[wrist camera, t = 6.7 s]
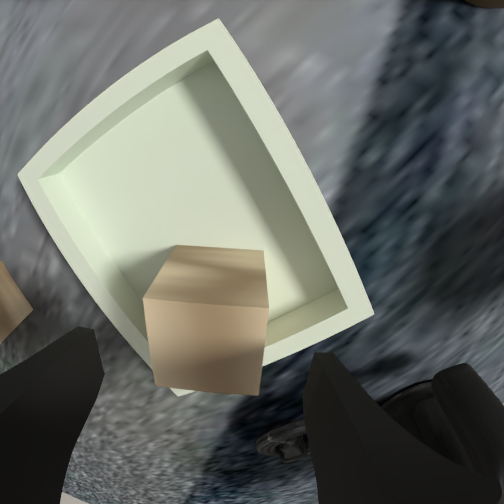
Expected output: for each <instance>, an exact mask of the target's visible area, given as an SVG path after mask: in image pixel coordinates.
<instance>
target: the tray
mask: <svg viewBox="0 0 504 504" xmlns="http://www.w3.org/2000/svg"><path fill="white" fill-rule="evenodd" d="M18 177H19V179H20V181H21V183H22V185H23V187H24V189H25V191H26V193H27V195H28V197H29V198H30V200H31V202H32V204H33V206H34V208H35V209H36V211H37V213H38V215H39V216H40V218H41V220H42V222H43V223H44V225H45V227H46V228H47V230H48V232H49V233H50V235H51V237H52V238H53V240H54V242H55V243H56V245H57V246H58V248H59V250H60V251H61V253H62V254H63V256H64V257H65V259H66V260H67V262H68V263H69V265H70V266H71V268H72V269H73V271H74V272H75V274H76V275H77V277H78V278H79V279H80V281H81V282H82V284H83V285H84V287H85V288H86V289H87V291H88V292H89V293H90V295H91V296H92V297H93V299H94V300H95V302H96V303H97V304H98V305H99V307H100V308H101V309H102V311H103V312H104V313H105V315H106V316H107V317H108V318H109V320H110V321H111V322H112V323H113V325H114V326H115V327H116V328H117V330H118V331H119V332H120V333H121V334H122V336H123V337H124V338H125V339H126V340H127V342H128V343H129V344H130V345H131V346H132V348H133V349H134V350H135V351H136V352H137V353H138V354H139V356H140V357H141V358H142V359H143V360H144V361H145V362H146V363H147V364H148V366H149V367H150V368H151V369H152V363H151V357H150V350H149V343H148V336H147V329H146V321H145V313H144V304H143V297H144V295H145V294H146V292H147V290H148V289H149V287H150V286H151V284H152V282H153V281H154V279H155V278H156V276H157V274H158V273H159V271H160V270H161V268H162V267H163V265H164V263H165V262H166V260H167V259H168V257H169V256H170V254H171V253H172V251H173V250H174V248H175V247H176V245H188V246H204V247H219V248H234V249H250V250H264V260H265V270H266V280H267V290H268V301H269V314H268V323H267V331H266V340H265V348H264V356H263V364H262V366H264V365H267V364H269V363H272V362H274V361H276V360H279V359H281V358H284V357H286V356H288V355H290V354H293V353H295V352H297V351H300V350H302V349H304V348H306V347H309V346H311V345H313V344H315V343H317V342H319V341H322V340H324V339H326V338H328V337H330V336H332V335H334V334H336V333H338V332H340V331H342V330H344V329H346V328H348V327H350V326H352V325H354V324H356V323H358V322H360V321H362V320H364V319H366V318H368V317H370V316H372V315H374V312H373V309H372V307H371V304H370V302H369V299H368V297H367V294H366V292H365V289H364V287H363V284H362V282H361V279H360V277H359V275H358V272H357V270H356V267H355V265H354V263H353V260H352V258H351V256H350V254H349V251H348V249H347V247H346V245H345V242H344V240H343V238H342V236H341V233H340V231H339V229H338V227H337V225H336V223H335V220H334V218H333V216H332V214H331V212H330V210H329V208H328V206H327V204H326V202H325V199H324V197H323V195H322V193H321V191H320V189H319V187H318V185H317V183H316V181H315V179H314V177H313V175H312V173H311V172H310V170H309V168H308V166H307V164H306V162H305V160H304V158H303V156H302V154H301V152H300V151H299V149H298V147H297V145H296V143H295V141H294V139H293V138H292V136H291V134H290V132H289V130H288V129H287V127H286V125H285V123H284V121H283V120H282V118H281V116H280V114H279V113H278V111H277V109H276V107H275V106H274V104H273V102H272V101H271V99H270V97H269V95H268V94H267V92H266V90H265V89H264V87H263V85H262V84H261V82H260V81H259V79H258V77H257V76H256V74H255V72H254V71H253V69H252V68H251V66H250V65H249V63H248V61H247V60H246V58H245V57H244V55H243V54H242V52H241V50H240V49H239V47H238V46H237V44H236V43H235V41H234V40H233V38H232V37H231V35H230V34H229V32H228V31H227V30H226V28H225V27H224V25H223V24H222V22H221V21H220V19H217V20H215V21H213V22H211V23H209V24H207V25H205V26H203V27H201V28H199V29H197V30H196V31H194V32H192V33H190V34H188V35H187V36H185V37H183V38H181V39H180V40H178V41H176V42H175V43H173V44H171V45H170V46H168V47H166V48H165V49H163V50H162V51H160V52H158V53H157V54H155V55H154V56H152V57H151V58H149V59H148V60H146V61H145V62H143V63H142V64H140V65H139V66H137V67H136V68H135V69H133V70H132V71H130V72H129V73H128V74H126V75H125V76H123V77H122V78H121V79H119V80H118V81H117V82H115V83H114V84H113V85H111V86H110V87H109V88H108V89H106V90H105V91H104V92H103V93H101V94H100V95H99V96H98V97H96V98H95V99H94V100H93V101H92V102H90V103H89V104H88V105H87V106H86V107H84V108H83V109H82V110H81V111H80V112H79V113H78V114H76V115H75V116H74V117H73V118H72V119H71V120H70V121H69V122H68V123H67V124H65V125H64V126H63V127H62V128H61V129H60V130H59V131H58V132H57V133H56V134H55V135H54V136H53V137H52V138H51V139H50V140H49V141H48V142H47V143H46V144H45V145H44V146H43V147H42V148H41V149H40V150H39V151H38V152H37V153H36V154H35V156H34V157H33V158H32V159H31V160H30V161H29V162H28V163H27V164H26V165H25V167H24V168H23V169H22V170H21V171H20V172H19V173H18ZM152 370H153V369H152ZM170 389H171V390H172V391H173V392H174V393H175V394H176V395H177V396H178V397H179V396H182V395H185V394H188V393H191V392H194V391H192V390H184V389H175V388H170Z"/></svg>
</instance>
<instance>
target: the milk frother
mask: <svg viewBox="0 0 504 504" xmlns="http://www.w3.org/2000/svg"><path fill="white" fill-rule="evenodd" d="M380 407H381V408H382V409H383V410H384V411H385V412H386V413H387V414H388V415H389V416H390V417H391V418H392V419H393V420H394V421H396V422H397V423H398V424H399V425H400V426H401V427H403V428H404V429H405V430H406V431H407V432H409V433H410V434H411V435H412V436H414V437H415V438H416V439H418V440H419V441H420V442H422V443H423V444H425V445H426V446H428V447H429V448H431V449H432V450H434V451H435V452H437V453H438V454H440V455H442V456H443V457H445V458H447V459H449V460H450V461H452V462H454V463H456V464H458V465H460V466H462V467H464V468H466V469H468V470H470V471H473V472H475V473H478V474H480V475H483V476H486V477H489V478H491V479H494V480H497V481H499V482H500V484H501V486H502V488H503V491H504V406H503V404H502V403H501V401H500V400H499V399H498V398H497V397H496V396H495V394H494V393H493V391H492V390H491V389H490V388H489V387H488V386H487V384H486V383H485V382H484V381H483V380H482V378H481V377H480V376H479V375H478V374H477V372H476V371H475V370H474V369H473V368H472V367H471V366H470V365H469V364H466V363H462V364H458V365H455V366H452V367H449V368H446V369H444V370H442V371H440V372H438V373H437V374H435V376H434V378H433V380H432V381H430V382H426V383H422V384H419V385H416V386H414V387H411V388H409V389H407V390H405V391H403V392H401V393H399V394H398V395H396V396H394V397H392V398H391V399H390V400H389V401H387V402H385V403H384V404H383V405H381V406H380ZM306 433H307V432H306V428H305V422H304V419H301V420H298V421H295V422H292V423H289V424H286V425H283V426H280V427H278V428H275V429H273V430H271V431H269V432H267V433H265V434H264V435H262V436H260V437H259V438H258V440H257V441H256V449H257V451H258V452H259V453H261V454H264V455H270V456H280V459H281V461H282V462H286V463H288V462H292V461H296V460H300V459H303V458H305V457H306V456H307V452H310V447H309V442H307V443H304V440H303V434H306Z"/></svg>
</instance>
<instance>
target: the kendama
mask: <svg viewBox="0 0 504 504" xmlns="http://www.w3.org/2000/svg"><path fill="white" fill-rule="evenodd" d="M464 1H466V2H467V3H469V4H472V5H475V6H479V7H486V8H504V0H464Z"/></svg>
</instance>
